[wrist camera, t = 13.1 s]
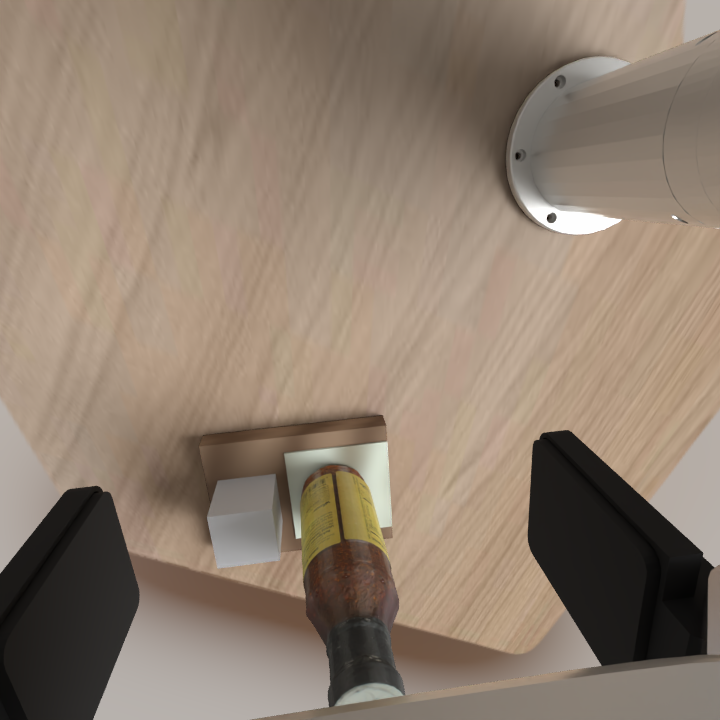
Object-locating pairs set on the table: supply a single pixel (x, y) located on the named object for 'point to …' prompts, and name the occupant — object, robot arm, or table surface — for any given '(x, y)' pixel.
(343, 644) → the sauce bottle
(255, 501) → the grey block
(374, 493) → the base board
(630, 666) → the robot arm
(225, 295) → the table surface
